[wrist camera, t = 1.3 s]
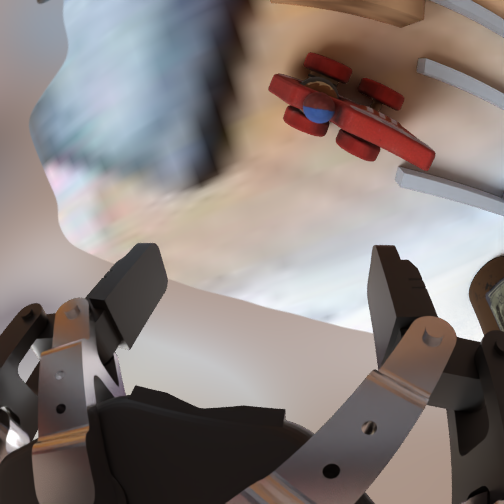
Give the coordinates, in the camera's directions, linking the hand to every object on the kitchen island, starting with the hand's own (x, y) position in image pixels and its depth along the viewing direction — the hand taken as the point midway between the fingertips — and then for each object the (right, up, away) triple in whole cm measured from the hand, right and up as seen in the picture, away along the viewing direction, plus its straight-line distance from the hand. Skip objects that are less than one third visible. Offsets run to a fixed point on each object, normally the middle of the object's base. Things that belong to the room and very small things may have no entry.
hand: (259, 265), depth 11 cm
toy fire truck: (+8, +14, +14) cm, 21 cm away
